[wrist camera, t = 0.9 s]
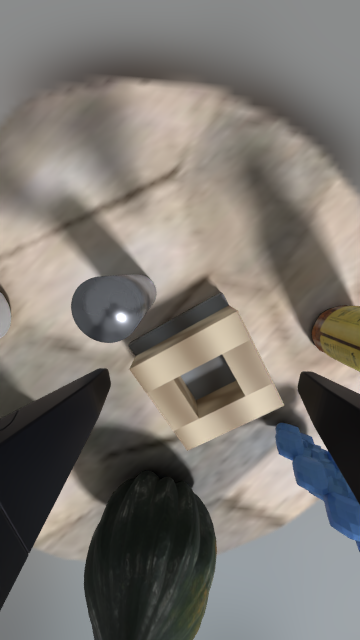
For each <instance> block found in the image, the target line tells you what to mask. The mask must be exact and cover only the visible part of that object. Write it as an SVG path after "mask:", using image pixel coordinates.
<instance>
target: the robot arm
mask: <svg viewBox="0 0 360 640" xmlns="http://www.w3.org/2000/svg"><path fill="white" fill-rule="evenodd" d="M110 386H111V381H110V376H109V371H108V369H106V368H99V369H97V370H95V371H93V372H91V373H89V374H87V375H85V376H83V377H81V378H79V379H77V380H75V381H73V382H71V383H69V384H67V385H65V386H63V387H61V388H59V389H58V390H56V391H54V392H52V393H50V394H48V395H46V396H44V397H42V398H40V399H38V400H36V401H34V402H32V403H30V404H28V405H26V406H24V407H22V408H20V409H19V410H16V411H14V412H12V413H10V414H9V415H7V416H5V417H3V418H1V419H0V610H1V608H2V606H3V604H4V602H5V600H6V598H7V596H8V594H9V592H10V590H11V589H12V586H13V585H14V583H15V581H16V579H17V577H18V575H19V573H20V571H21V569H22V567H23V565H24V563H25V561H26V559H27V557H28V553H30V551H31V549H32V547H33V545H34V543H35V541H36V539H37V537H38V535H39V533H40V531H41V529H42V527H43V525H44V523H45V521H46V519H47V517H48V515H49V514H50V512H51V510H52V508H53V506H54V504H55V502H56V500H57V498H58V496H59V494H60V492H61V490H62V488H63V486H64V484H65V482H66V480H67V478H68V476H69V474H70V472H71V470H72V468H73V466H74V464H75V462H76V461H77V459H78V457H79V455H80V453H81V451H82V449H83V447H84V445H85V443H86V441H87V439H88V437H89V435H90V433H91V431H92V429H93V427H94V425H95V423H96V421H97V419H98V417H99V415H100V412H101V410H102V407H103V405H104V402H105V400H106V397H107V394H108V392H109V389H110ZM298 392H299V394H300V397H301V399H302V401H303V403H304V405H305V408H306V410H307V412H308V414H309V416H310V419H311V421H312V423H313V425H314V427H315V428H316V430H317V432H318V434H319V435H320V437H321V439H322V441H323V442H324V444H325V446H326V448H327V449H328V451H329V453H330V454H331V456H332V458H333V460H334V461H335V463H336V465H337V467H338V468H339V470H340V472H341V473H342V475H343V477H344V479H345V480H346V482H347V484H348V486H349V487H350V489H351V491H352V492H353V494H354V496H355V498H356V499H357V501H358V503H359V505H360V394H358V393H356V392H354V391H352V390H350V389H348V388H346V387H344V386H341V385H339V384H337V383H335V382H333V381H331V380H329V379H327V378H325V377H322V376H320V375H318V374H316V373H314V372H306V371H303V372H301V374H300V378H299V383H298Z"/></svg>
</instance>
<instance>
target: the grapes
mask: <svg viewBox="0 0 360 640" xmlns="http://www.w3.org/2000/svg"><path fill="white" fill-rule="evenodd" d="M275 438H276V444H277V449H278V452H279V454H280V455H282V456H284V457H286V458H288V459H290V460H293V462H292V464H293V470H294V475H295V479H296V482H297V484H298V485H299V486H301V487H303V488H304V489H306V490H308V491H309V493H311V494H313V495H314V496H316V497H318V498H320V499H321V500H323V501H324V503H325V508H326V512H327V516H328V519H329V522H330V525H331V526H332V527H333V528H335V529H336V530H338V531H339V532H341V533H342V534H344V535H345V536H347V537H348V538H350V539H353V540H355V541H356V543H357V546H358V549H359V551H360V505H359V503H358V501H357V499H356V498H355V496H354V494H353V492H352V491H351V489H350V487H349V486H348V484H347V482H346V480H345V479H344V477H343V475H342V473H341V472H340V470H339V468H338V467H337V465H336V463H335V461H334V460H333V458H332V456H331V454H330V453H329V451H328V452H327V451H326V450H324V449H321V446H318V445H315V444H314V442H313V439H312V437H311V436H308V435H306V434H303V433H300V431H299V428H298V427H296V426H293V425H290V424H286V423H278V424H277V426H276V436H275Z"/></svg>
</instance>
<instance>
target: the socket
mask: <svg viewBox="0 0 360 640" xmlns="http://www.w3.org/2000/svg"><path fill="white" fill-rule="evenodd" d="M129 347H130V349H131V350H132V351H133V353H134V354H135V356H136V357H135V359H134V361H133V363H132V365H131V367H130V371H131V372H132V374H133V375H134V376H135V378H136V379H137V381H138V382H139V383H140V385H141V386H142V388H143V389H144V390H145V392H146V393H147V395H148V396H149V397H150V399H151V400H152V402H153V403H154V404H155V406H156V407H157V409H158V410H159V411H160V413H161V414H162V416H163V417H164V418H165V420H166V421H167V423H168V424H169V425H170V427H171V428H172V430H173V431H174V433H175V434H176V435H177V437H178V438H179V440H180V441H181V442H182V444H183V445H184V447H185V448H186V449H187V451H188V450H190V449H192V448H194V447H196V446H199V445H201V444H203V443H205V442H207V441H209V440H211V439H214V438H216V437H218V436H220V435H222V434H224V433H227V432H229V431H231V430H233V429H235V428H237V427H239V426H242V425H244V424H246V423H248V422H250V421H252V420H254V419H257V418H259V417H261V416H263V415H265V414H267V413H269V412H272V411H274V410H276V409H278V408H280V407H282V406H284V403H283V401H282V399H281V397H280V395H279V393H278V391H277V389H276V387H275V385H274V383H273V381H272V379H271V377H270V375H269V373H268V371H267V369H266V367H265V365H264V363H263V361H262V359H261V357H260V355H259V353H258V351H257V349H256V347H255V345H254V343H253V341H252V339H251V337H250V335H249V332H248V330H247V328H246V326H245V324H244V322H243V320H242V318H241V316H240V314H239V312H238V311H237V310H236V309H234V308H232V307H231V306H229V304H228V302H227V300H226V298H225V296H224V295H223V293H221V292H220V293H218V294H217V295H215V296H213V297H211V298H209V299H208V300H206V301H204V302H202V303H200V304H199V305H197V306H195V307H193V308H191V309H190V310H188V311H186V312H184V313H182V314H181V315H179V316H177V317H175V318H173V319H172V320H170V321H168V322H166V323H165V324H163V325H161V326H159V327H157V328H156V329H154V330H152V331H150V332H148V333H147V334H145V335H143V336H141V337H139V338H138V339H136V340H134V341H132V342H131V343H130V344H129Z"/></svg>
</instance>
